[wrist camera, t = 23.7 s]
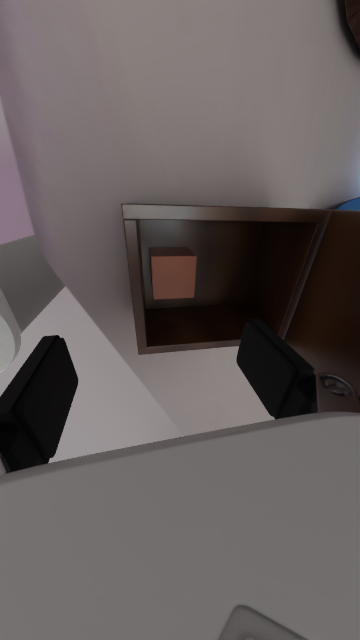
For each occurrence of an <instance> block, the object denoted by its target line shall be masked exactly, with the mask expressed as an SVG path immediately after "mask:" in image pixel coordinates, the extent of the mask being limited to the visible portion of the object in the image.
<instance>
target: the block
mask: <svg viewBox="0 0 360 640" xmlns="http://www.w3.org/2000/svg"><path fill="white" fill-rule="evenodd" d="M149 249H150V267H151V285H152V294H153V299H172V298H193V297H194V289H195V274H196V260H197V256H196V255H195V254H194V253H193V252H192V251H191V250H190V249H189V248H188V247H150V248H149Z"/></svg>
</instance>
